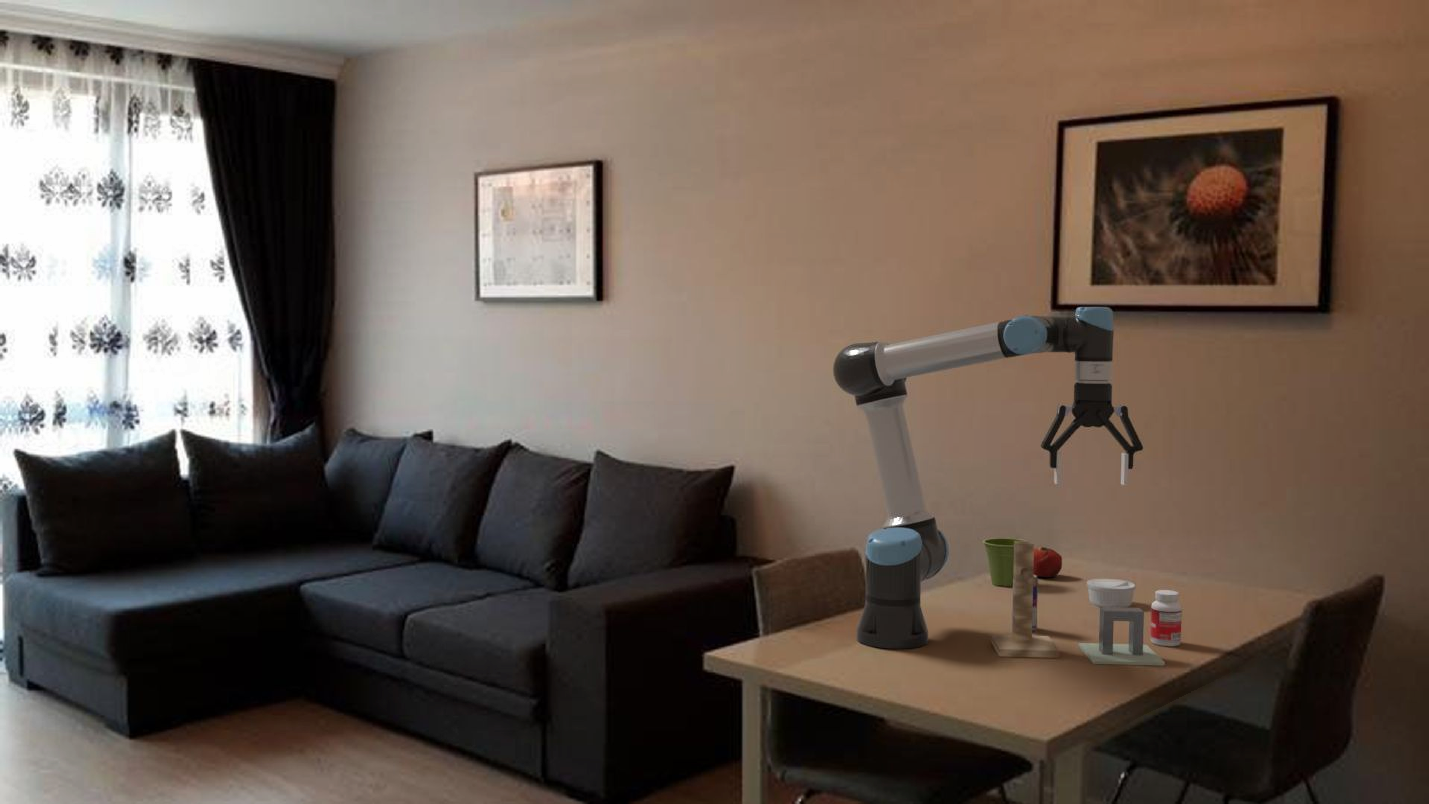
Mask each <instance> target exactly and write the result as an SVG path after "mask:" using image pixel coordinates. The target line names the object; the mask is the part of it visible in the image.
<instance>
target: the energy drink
mask: <svg viewBox="0 0 1429 804" xmlns="http://www.w3.org/2000/svg"><path fill="white" fill-rule="evenodd" d="M1033 576H1034V577H1035V578H1036V579H1037V581H1038V582H1039V580H1038V576H1036V575H1034V574H1033ZM1038 585H1039V583H1038V584H1037V585H1036V586H1035V587H1033V611H1032V632H1034V631H1036V630H1037V628H1038V596H1039V595H1038V590H1039V588H1038V587H1039V586H1038ZM1011 611H1012V612H1011V618H1012V619H1011V620H1012V621H1011V623H1012V625H1011V627H1012V626H1013V606H1012V610H1011Z"/></svg>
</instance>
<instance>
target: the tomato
mask: <svg viewBox="0 0 1429 804" xmlns="http://www.w3.org/2000/svg"><path fill="white" fill-rule="evenodd" d="M1062 568H1063V557H1062V555H1061V554H1059V553H1058V552H1057V551H1056V550H1054V549H1053V548H1048V547H1044V546H1038V547H1037V548H1034V564H1033V575H1036V576H1037V577H1042V578H1051V577H1056V576H1057V575H1059V573H1060V572H1061V570H1062Z"/></svg>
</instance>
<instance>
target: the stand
mask: <svg viewBox="0 0 1429 804" xmlns="http://www.w3.org/2000/svg"><path fill="white" fill-rule="evenodd" d="M1034 549H1035V544H1034V543H1033V541H1031V540H1029V541H1028V540H1026V541H1014V577H1013V586H1012V607H1013V626H1012V625H1011V628H1012V632H1011V634H991V635H990V642H991V644H992V646H993V648H994V649H995V651H996V653H997V655H998V656H999V657H1003V658H1004V657H1008V658H1012V657H1013V658H1015V657H1016V658H1050V659H1055V658H1056V659H1058V658H1060V650H1059V648H1058V647H1057V646H1056V645H1055V643H1054V642H1053V640H1052V639H1051V638H1050V636H1049V635H1033V631H1032V611H1033V587H1035V586H1036V585H1037V584H1038V585H1039V580H1038V581H1037V579H1038V578H1037V579H1036V578H1035V577H1034V576H1033V575H1034V574H1033V564H1034Z"/></svg>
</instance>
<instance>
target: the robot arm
mask: <svg viewBox="0 0 1429 804" xmlns="http://www.w3.org/2000/svg"><path fill="white" fill-rule="evenodd" d="M1114 332H1115V328H1114V312H1113V310H1112V309H1111V307H1108V306H1080V307H1079V306H1078V307H1077V308H1076V309H1075V314H1074V315H1072V316H1054V315H1053V316H1052V315H1050V316H1047V315H1046V316H1044V315H1043V316H1042V315H1029V314H1028V315H1026V314H1025V315H1020V316H1017V317H1015V318H1011V319H1006V320H1004V321H997V322H992V323H987V324H983V325H979V326H973V327H968V328H964V329H958V330H954V331H953V330H952V331H950V332H945V333H940V334H934V335H930V336H924V337H920V338H919V337H918V338H914V339H910V340H906V341H900V342H896V343H891V344H890V343H887V342H884V341H882V340H881V341H875V342H855V343H852V344H850V345H847V346H845V347H844V348H842V349H841V350H840V352H839V353H838V354H837V356H835V359H834V362H833V366H832V367H833V368H832V371H833V376H834V381H835V382H836V384H837V386H838V387H839V388H840V389H842V391H844V392H845V393H846V394H849V395H852V396H854V400H855V404H856V408H857V409H858V410H860V411H862V412H863V413H864V414H865V418H866V421H867V427H868V432H869V436H870V440H871V445H872V449H873V453H874V458H875V463H876V468H877V473H878V476H879V481H880V485H881V490H882V495H883V500H884V504H885V508H886V509H885V510H886V512H887V519H886V521H885V522H884V524H883V526H882V527H883V528H879V529H877V530H874V531H873V532H870V534H869V535H868V537H867V539H866V546H865V550H864V551H865V604H864V607H863V611H862V612H861V613H862V614H861V617H860V619H859V623H858V625H857V629H856V639H857V640H856V641H858V642H859V643H861V644H862V645H866V646H870V647H874V648H881V649H894V650H895V649H896V650H897V649H899V650H902V649H904V650H905V649H913V648H914V649H916V648H919V647H923V646H925V645H927V644H928V643H929V629H928V625H927V623H926V619H925V616H924V613H923V609H922V607H921V593H922V592H921V590H922V589H921V586H922V582H923V581H925V580H930V579H932V578H933V577H934V576H936V575H937V574H939V572H940V571H941V570H942V569H943V568H944V567H945V565H946V564H947V561H948V558H949V553H950V551H949V550H950V549H949V543H948V540H947V537H946V536H945V534H944V533H943V532H942V531H941V530H940V529H938V526H937V520H936V517H935V515H934V514H933V513H931V512H930V511H929V510H928V509H927V508H926V504H925V503H926V502H925V499H924V493H923V490H922V486H921V485H922V484H921V481H920V476H919V472H918V467H917V463H916V458H915V453H914V449H913V446H912V441H911V435H910V433H909V427H908V423H907V418H906V413H905V409H904V403H905V401H906V400H907V398H908V391H907V387H906V382H907V379H908V378H911V377H917V376H922V375H926V374H931V373H936V372H942V371H943V372H944V371H946V370H947V371H948V370H952V369H958V368H962V367H968V366H973V365H978V364H982V363H983V364H984V363H988V362H993V361H998V360H1003V359H1008V358H1015V357H1019V356H1020V357H1021V356H1026V355H1031V354H1040V353H1041V354H1042V353H1067V354H1068V353H1074V376H1073V377H1074V378H1073V379H1074V380H1075V381H1076V382H1075V383H1074V384H1073V404H1072V406H1070V405H1069V406H1068V405H1063V404H1058V406H1057V410H1056V416H1055V418H1054V420H1053V421H1052V423H1051V424H1050V427H1049V428H1048V430H1047V433H1046V434H1045V436H1044V438H1043V440H1042V441H1041V443H1040V447H1041V448H1042V449H1043V450H1044V451H1045V450H1046V451H1048V453H1049V467H1050V468H1051V469H1054V473H1053V474H1054V475H1053V481H1054V484H1055V485H1057V486H1058V485H1059V486H1060V485H1061V472H1062V469H1061V467H1062V465H1061V463H1062V453H1061V452H1059V450H1060V449H1061V448H1062V447H1063V445H1065V444H1066V442H1067V441H1069V439H1070V438H1071V437H1072V436H1073V435H1074V433H1076V432H1077V430H1078V429H1080V427H1084V428H1091V427H1094V428H1101V427H1105V429H1106V430H1107V431H1108V432H1109V433H1110V435H1111V436H1112V437H1113V438H1114V439H1115V440H1116V441H1117V442H1118V444H1119V446H1121V447H1122V449H1123V450H1124V451H1125V452H1121V459H1120V460H1121V462H1120V463H1121V465H1120V467H1121V468H1120V485H1122V486H1125V487H1126V486H1129V484H1128V483H1129V470H1133V468H1134V455H1135V453H1136V452H1139V451H1140V452H1141V451H1143V450H1144V446H1143V444H1142V441H1141V440H1140V437H1139V436H1138V434H1137V431H1136V430H1135V427H1134V426H1133V424H1132V421H1131V419H1130V417H1129V409H1128V407H1127V406H1126V405H1123V404H1122V405H1119V406H1113V402H1112V401H1113V399H1112V398H1113V384H1112V383H1110V381H1112V380H1113V362H1114V361H1113V358H1114V357H1113V355H1114V353H1113V352H1114V351H1113V350H1114V335H1115V333H1114ZM1069 413H1071V414H1072V415H1073V416H1074V419H1073V420H1072V421H1071V423H1070V424H1069V425H1068V426H1067V427H1066V428H1065V430H1064V431H1063V432H1062V433H1061V434H1060V435H1059V436H1058V437H1057V439H1056V440H1055V441H1054V442H1053V440H1054V438H1055V436H1056V435H1057V433H1058V431H1059V429H1060V427H1061V425H1062V424H1063V421H1064V419H1065V417H1067V416H1068V415H1069ZM1114 413H1115V415H1116V416H1117V417H1119V418H1120V421H1121V423H1122V426H1123V428H1124V429H1125V432H1126V433H1127V435H1128V437H1129V439H1130V442H1131V444H1132V445H1131V444H1130V443H1129V442H1128V440H1126V439H1125V437H1124V436H1123V434H1122V433H1121V432H1120V431H1119V430H1118V428H1116V426H1115V424H1114V423H1113V422H1112V421H1111V420H1110V418H1111V417H1112V416H1113V414H1114ZM1052 442H1053V443H1052Z"/></svg>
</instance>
